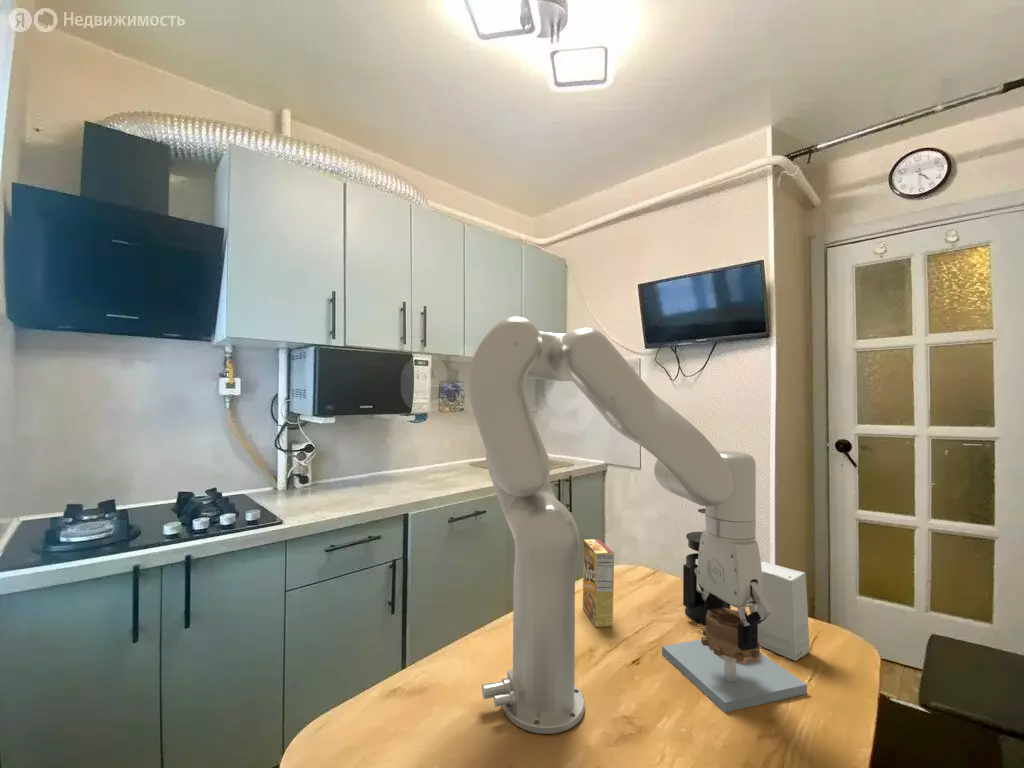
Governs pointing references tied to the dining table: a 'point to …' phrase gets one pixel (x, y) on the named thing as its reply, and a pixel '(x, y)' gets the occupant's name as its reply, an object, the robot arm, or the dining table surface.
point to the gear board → (746, 675)
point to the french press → (694, 581)
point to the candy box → (598, 582)
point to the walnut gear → (725, 634)
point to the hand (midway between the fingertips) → (729, 634)
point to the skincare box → (785, 612)
